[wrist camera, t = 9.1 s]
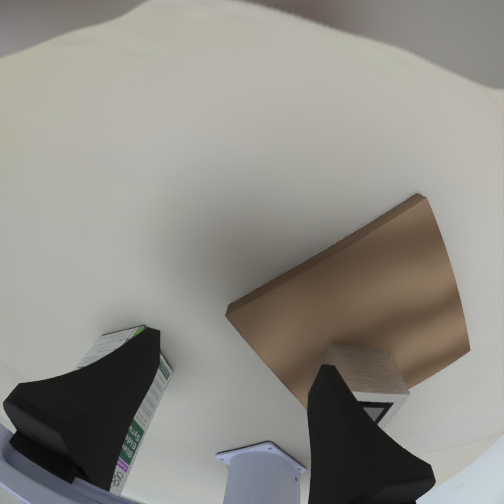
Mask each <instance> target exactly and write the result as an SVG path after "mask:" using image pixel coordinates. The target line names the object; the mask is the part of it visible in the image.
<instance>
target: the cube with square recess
mask: <svg viewBox="0 0 504 504" xmlns="http://www.w3.org/2000/svg"><path fill="white" fill-rule="evenodd" d="M322 364H327V365H335V367H336V368H337V370H338V371H339V373H340V375H341V376H342V378H343V379H344V381H345V383H346V384H347V386H348V387H349V389H350V390H351V392H352V393H353V395H354V396H355V398H356V399H357V400H358V401H368V402H383V405H384V409H383V411H382V412H381V413H380V415H379V416H378V417H377V419H376V420H375V421H374V422H375V423H376V424H377V425H378V426H379V427H380V428H381V429H382V430H383V429H384V428H385V426H386V425H387V424H388V423H389V421H390V420H391V419H392V418H393V416H394V415H395V414H396V413H397V411H398V410H399V409H400V407H401V406H402V405H403V403H404V402H405V401H406V399H407V398H408V397H409V395H410V393H409V391H408V388H407V386H406V384H405V381H404V379H403V377H402V374H401V372H400V370H399V368H398V365H397V363H396V361H395V359H394V356H393V354H392V352H391V351H387V350H379V349H371V348H364V347H357V346H350V345H343V344H336V343H330V342H329V344H328V346H327V348H326V350H325V353H324V355H323V357H322V359H321V362H320V364H319V366H318V368H317V370H316V372H315V374H314V377H313V379H312V381H311V383H310V385H309V387H308V389H307V403H308V393H309V391H310V389H311V386H312V384H313V382H314V380H315V378H316V376H317V374H318V371H319V369H320V367H321V365H322Z"/></svg>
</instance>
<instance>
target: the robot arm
mask: <svg viewBox="0 0 504 504" xmlns="http://www.w3.org/2000/svg"><path fill="white" fill-rule="evenodd" d="M159 365H160V331H159V330H156V329H152V328H149V327H147V328H145V329H144V330H143V331H141V332H140V333H138V334H137V335H136V336H134V337H133V338H132V339H130V340H129V341H127V342H126V343H124V344H123V345H121V346H120V347H119V348H117V349H116V350H114V351H112V352H111V353H109V354H107V355H106V356H104V357H102V358H101V359H99V360H97V361H95V362H93V363H91V364H89V365H87V366H85V367H83V368H80V369H78V370H75V371H72V372H70V373H67V374H64V375H61V376H57V377H54V378H50V379H45V380H40V381H34V382H27V383H19V384H18V385H17V386H16V387H15V389H14V390H13V391H12V392H11V393H10V395H9V396H8V397H7V398H6V399H5V401H4V402H3V407H4V410H5V412H6V414H7V416H8V417H9V419H10V420H11V422H12V423H13V425H14V426H15V428H16V429H17V431H16V432H15V434H13V433H12V432H11V431H10V430H8V429H7V428H6V427H5V426H3V425H2V424H1V423H0V486H1V487H2V488H4V489H5V490H6V491H7V492H9V493H10V494H11V495H13V496H14V497H15V498H17V499H18V500H19V501H21V502H22V503H24V504H139V503H136V502H133V501H131V500H128V499H125V498H123V497H120V496H117V495H115V494H112V493H110V487H111V484H112V480H113V476H114V472H115V469H116V465H117V462H118V459H119V455H120V453H121V450H122V447H123V444H124V441H125V438H126V436H127V433H128V430H129V428H130V425H131V423H132V421H133V418H134V416H135V415H136V413H137V411H138V409H139V407H140V405H141V403H142V402H143V400H144V398H145V396H146V394H147V392H148V391H149V389H150V387H151V385H152V383H153V381H154V378H155V376H156V373H157V371H158V368H159ZM307 416H308V426H309V437H310V447H311V478H310V491H309V500H308V504H416V500H417V499H418V498H419V497H421V496H422V495H424V494H425V493H426V492H428V491H429V490H430V489H431V488H432V487H433V486H434V485H435V482H436V480H435V477H434V473H433V470H432V467H431V465H430V464H428V463H426V462H425V461H423V460H421V459H419V458H418V457H416V456H414V455H413V454H411V453H410V452H408V451H407V450H406V449H404V448H403V447H401V446H400V445H399V444H398V443H396V442H395V441H394V440H393V439H392V438H391V437H389V436H388V435H387V434H386V433H385V432H384V431H383V430H382V429H381V428H380V427H379V426H378V425H377V424H376V423H375V422H374V421H373V419H372V418H371V417H370V416H369V415H368V413H367V412H366V411H365V410H364V408H363V407H362V406H361V404H360V403H359V402H358V400H357V399H356V398H355V396H354V395H353V393H352V392H351V390H350V389H349V387H348V386H347V384H346V383H345V381H344V379H343V378H342V376H341V375H340V373H339V371H338V370H337V368H336V367H335V365H327V364H322V365H321V367H320V369H319V371H318V374H317V376H316V378H315V380H314V382H313V384H312V386H311V389H310V391H309V393H308V404H307ZM216 458H217V459H219V460H220V461H222V462H223V463H225V464H226V465H228V466H229V472H228V478H227V484H226V490H225V496H224V502H223V504H300V474H301V473H305V472H306V468H304V467H303V466H301V465H300V464H299V463H297V462H296V461H294V460H293V459H292V458H290V457H289V456H288V455H286V454H285V453H284V452H282V451H281V450H280V449H279V448H277V447H276V446H275V445H273V444H272V443H270V442H266V443H262V444H258V445H254V446H251V447H246V448H242V449H238V450H234V451H229V452H224V453H219V454H217V455H216Z"/></svg>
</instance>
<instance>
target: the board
mask: <svg viewBox="0 0 504 504" xmlns="http://www.w3.org/2000/svg"><path fill="white" fill-rule="evenodd" d="M225 316H226V318H227V319H228V320H229V321H230V323H231V324H232V325H233V326H234V327H235V329H236V330H237V331H238V332H239V333H240V335H241V336H242V337H243V338H244V339H245V340H246V342H247V343H248V344H249V345H250V346H251V348H252V349H253V350H254V351H255V352H256V353H257V354H258V356H259V357H260V358H261V359H262V360H263V361H264V363H265V364H266V365H267V366H268V367H269V368H270V369H271V371H272V372H273V373H274V374H275V375H276V376H277V377H278V378H279V380H280V381H281V382H282V383H283V384H284V385H285V386H286V387H287V388H288V389H289V391H290V392H291V393H292V394H293V395H294V396H295V397H296V398H297V399H298V400H299V401H300V403H301V404H302V405H303V406H304V407H305V408H306V409H307V404H308V403H307V389H308V387H309V385H310V383H311V381H312V379H313V377H314V374H315V372H316V370H317V368H318V366H319V364H320V362H321V359H322V357H323V355H324V353H325V350H326V348H327V346H328V344H329V342H330V343H336V344H343V345H350V346H357V347H364V348H371V349H379V350H387V351H391V352H392V354H393V356H394V359H395V361H396V363H397V365H398V368H399V370H400V372H401V374H402V377H403V379H404V381H405V384H406V386H407V388H408V389H410V388H411V387H413V386H415V385H417V384H419V383H420V382H422V381H424V380H426V379H427V378H429V377H431V376H432V375H434V374H436V373H437V372H439V371H440V370H442V369H444V368H445V367H447V366H448V365H450V364H451V363H453V362H454V361H456V360H457V359H459V358H460V357H462V356H463V355H465V354H466V353H468V352H469V351H470V345H469V339H468V333H467V328H466V323H465V318H464V313H463V309H462V304H461V300H460V296H459V292H458V288H457V284H456V281H455V277H454V274H453V270H452V267H451V263H450V260H449V257H448V254H447V251H446V248H445V245H444V242H443V239H442V236H441V233H440V230H439V228H438V225H437V222H436V220H435V217H434V214H433V212H432V209H431V207H430V204H429V202H428V200H427V197H424V196H422V195H420V194H415V195H414V196H412V197H411V198H409V199H408V200H406V201H404V202H403V203H401V204H400V205H398V206H397V207H395V208H393V209H392V210H390V211H389V212H387V213H385V214H384V215H382V216H381V217H379V218H377V219H376V220H374V221H373V222H371V223H369V224H368V225H366V226H364V227H363V228H361V229H359V230H358V231H356V232H355V233H353V234H351V235H350V236H348V237H346V238H345V239H343V240H341V241H340V242H338V243H336V244H335V245H333V246H331V247H330V248H328V249H326V250H325V251H323V252H321V253H319V254H318V255H316V256H314V257H313V258H311V259H309V260H308V261H306V262H304V263H302V264H301V265H299V266H297V267H296V268H294V269H292V270H290V271H289V272H287V273H285V274H283V275H282V276H280V277H278V278H276V279H275V280H273V281H271V282H269V283H268V284H266V285H264V286H262V287H261V288H259V289H257V290H255V291H253V292H252V293H250V294H248V295H246V296H244V297H243V298H241V299H239V300H237V301H235V302H234V303H232V304H230V305H228V308H227V312H226V315H225Z"/></svg>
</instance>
